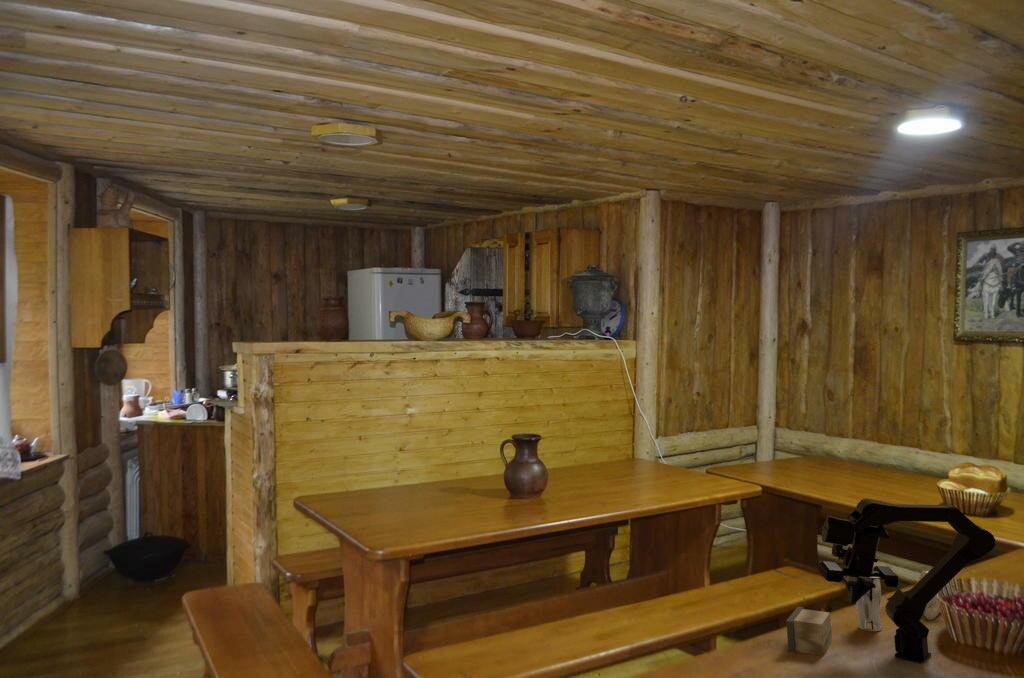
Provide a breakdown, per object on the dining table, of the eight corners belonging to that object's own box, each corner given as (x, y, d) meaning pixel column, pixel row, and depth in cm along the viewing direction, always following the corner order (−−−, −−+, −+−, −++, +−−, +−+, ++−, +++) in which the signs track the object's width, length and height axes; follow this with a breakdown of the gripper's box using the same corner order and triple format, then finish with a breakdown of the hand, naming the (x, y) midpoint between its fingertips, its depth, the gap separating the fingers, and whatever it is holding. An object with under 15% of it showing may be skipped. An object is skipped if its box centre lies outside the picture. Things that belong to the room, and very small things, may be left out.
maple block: (832, 642, 199) (830, 612, 199) (824, 655, 191) (822, 624, 192) (804, 638, 203) (802, 609, 203) (795, 651, 195) (793, 620, 195)
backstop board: (805, 636, 204) (803, 607, 204) (794, 652, 194) (792, 621, 194) (799, 635, 205) (797, 606, 205) (788, 651, 195) (786, 620, 195)
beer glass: (888, 627, 206) (884, 573, 207) (875, 634, 203) (870, 578, 203) (864, 621, 212) (861, 568, 213) (850, 627, 208) (846, 573, 209)
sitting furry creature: (902, 610, 219) (898, 569, 219) (923, 605, 222) (920, 564, 222) (930, 620, 210) (927, 577, 210) (952, 615, 213) (949, 572, 213)
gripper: (884, 536, 199) (871, 589, 202) (815, 530, 198) (804, 583, 201) (906, 558, 188) (892, 613, 191) (833, 551, 187) (821, 607, 190)
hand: (851, 603), depth 194 cm, fingers closed
